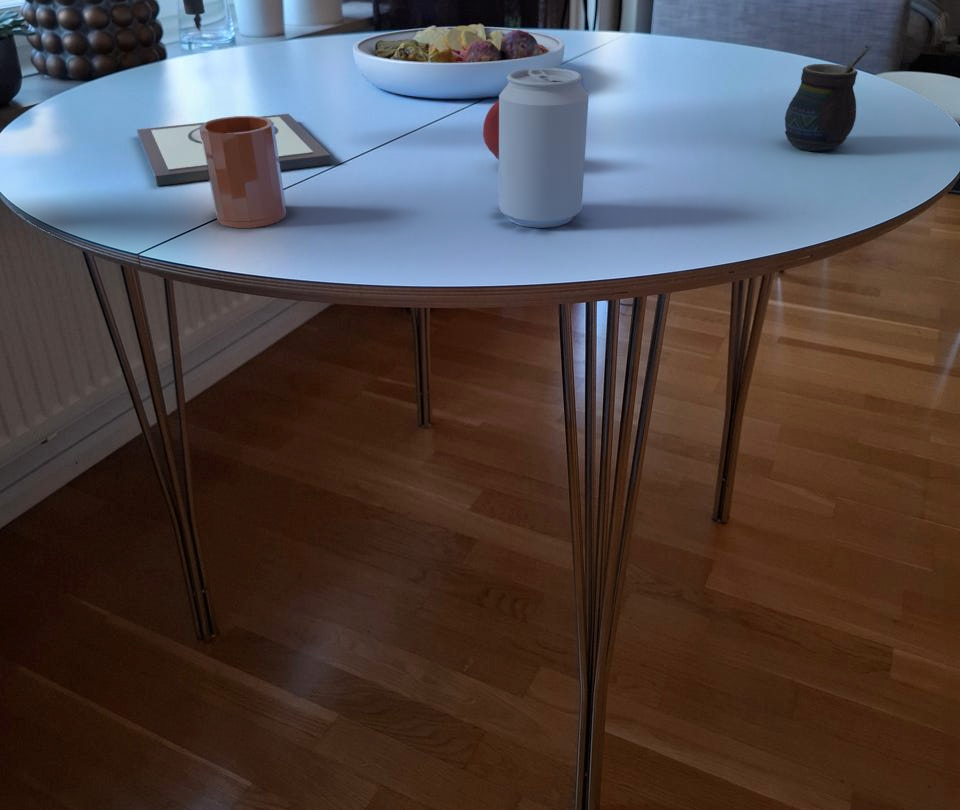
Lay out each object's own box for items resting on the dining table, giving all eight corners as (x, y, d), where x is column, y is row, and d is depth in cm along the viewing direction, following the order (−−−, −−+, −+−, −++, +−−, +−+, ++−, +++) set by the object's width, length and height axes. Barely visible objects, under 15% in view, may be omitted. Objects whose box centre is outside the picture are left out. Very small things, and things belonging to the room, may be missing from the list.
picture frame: (157, 186, 86) (154, 173, 86) (138, 138, 101) (136, 127, 100) (331, 164, 92) (330, 152, 91) (289, 122, 107) (288, 111, 106)
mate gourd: (766, 141, 97) (783, 44, 91) (820, 135, 99) (841, 39, 94) (807, 158, 92) (828, 55, 86) (864, 150, 94) (889, 50, 88)
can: (530, 237, 74) (535, 86, 67) (482, 213, 79) (481, 70, 72) (598, 220, 77) (608, 74, 70) (547, 198, 82) (553, 60, 75)
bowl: (314, 82, 125) (307, 21, 120) (461, 54, 142) (460, -1, 138) (456, 116, 108) (455, 47, 103) (605, 79, 125) (609, 18, 120)
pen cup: (223, 232, 75) (205, 137, 71) (212, 210, 80) (194, 120, 75) (293, 222, 77) (279, 129, 73) (278, 201, 82) (265, 113, 77)
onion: (549, 167, 90) (552, 84, 86) (511, 179, 87) (512, 94, 82) (510, 156, 94) (511, 76, 89) (472, 167, 90) (470, 85, 86)
